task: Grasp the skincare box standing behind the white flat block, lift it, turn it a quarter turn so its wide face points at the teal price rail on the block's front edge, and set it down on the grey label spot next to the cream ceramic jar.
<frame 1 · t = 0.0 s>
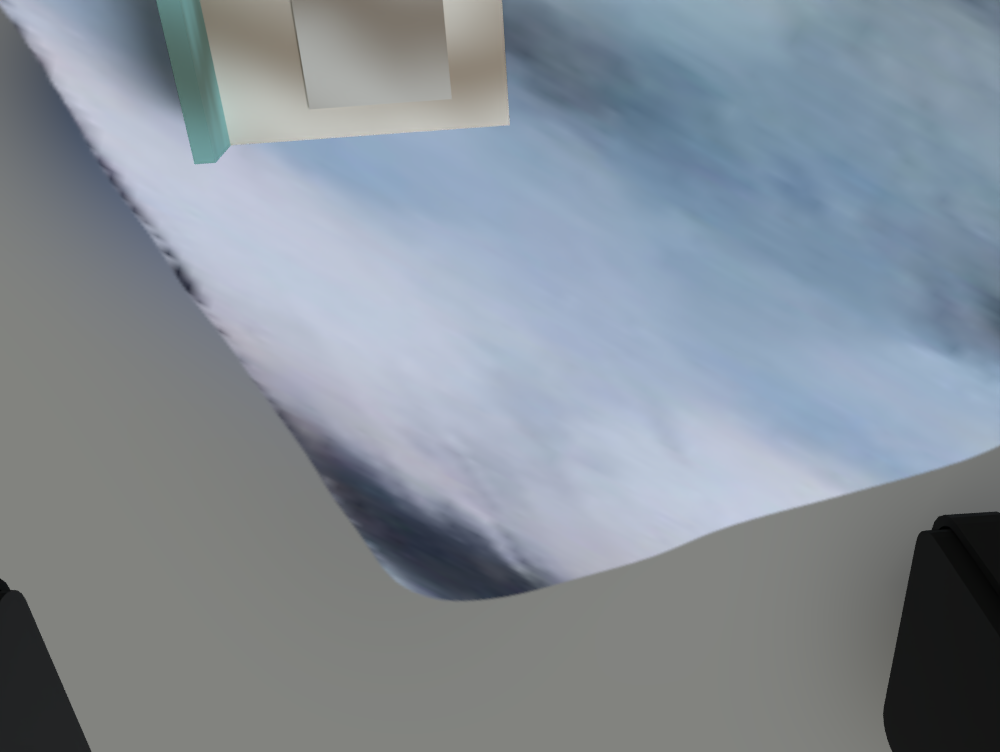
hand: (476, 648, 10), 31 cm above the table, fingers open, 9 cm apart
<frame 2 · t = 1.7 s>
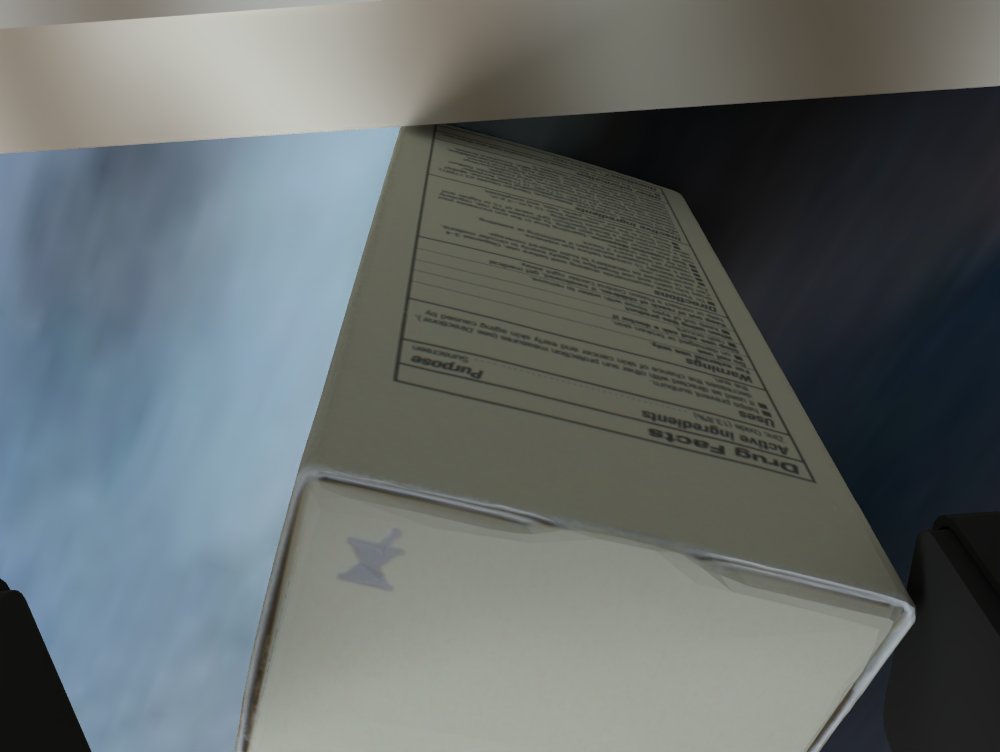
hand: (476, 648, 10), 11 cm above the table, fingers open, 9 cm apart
skincare box: (525, 242, 20), on the table
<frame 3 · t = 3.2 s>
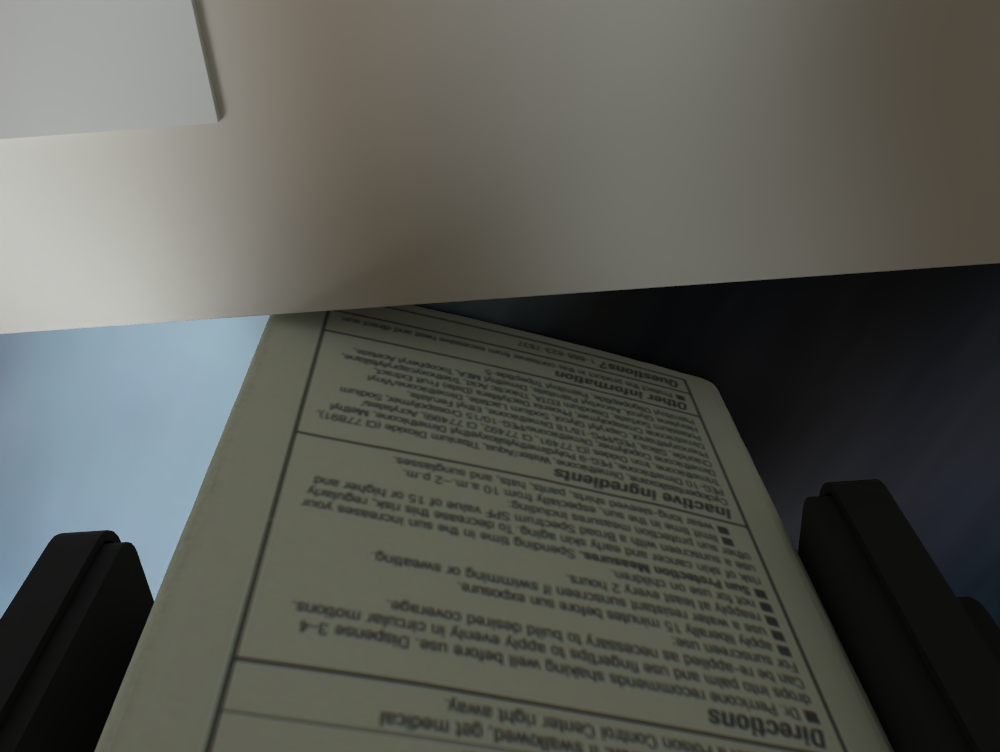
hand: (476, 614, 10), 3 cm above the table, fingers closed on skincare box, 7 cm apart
skincare box: (480, 446, 13), on the table, touching gripper
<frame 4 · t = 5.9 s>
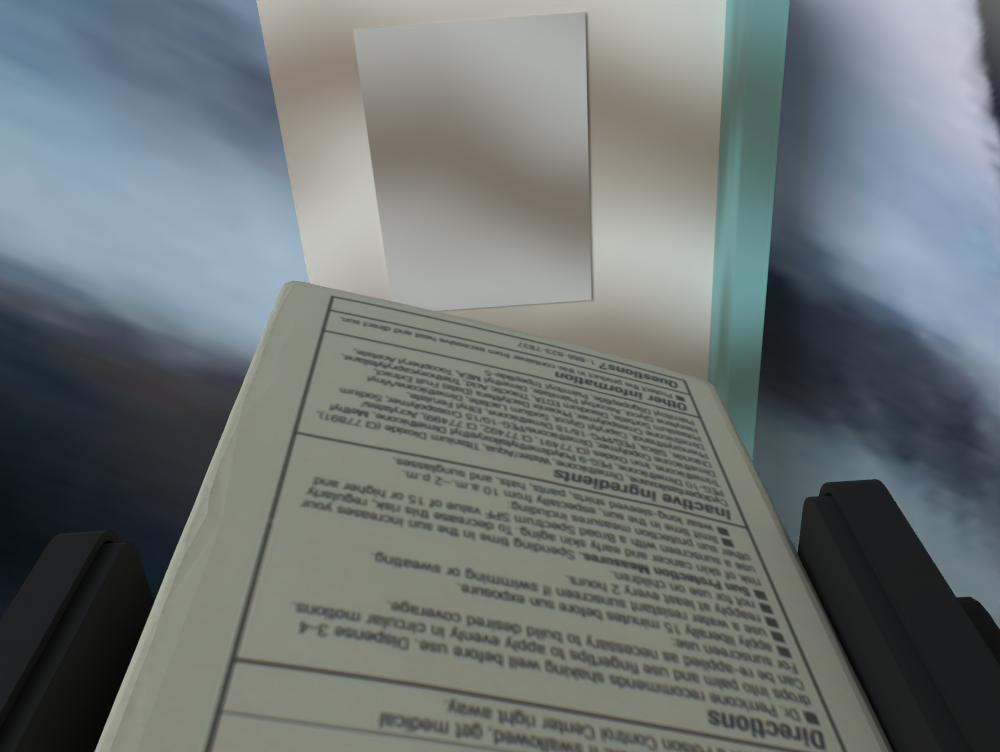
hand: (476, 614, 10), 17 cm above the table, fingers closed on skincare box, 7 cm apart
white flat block: (529, 347, 28), on the table
skincare box: (480, 447, 13), point 14 cm above the table, touching gripper
when the fingers open (6 cm above the table, at t = 8.9 s): skincare box stays where it is, resting on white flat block.
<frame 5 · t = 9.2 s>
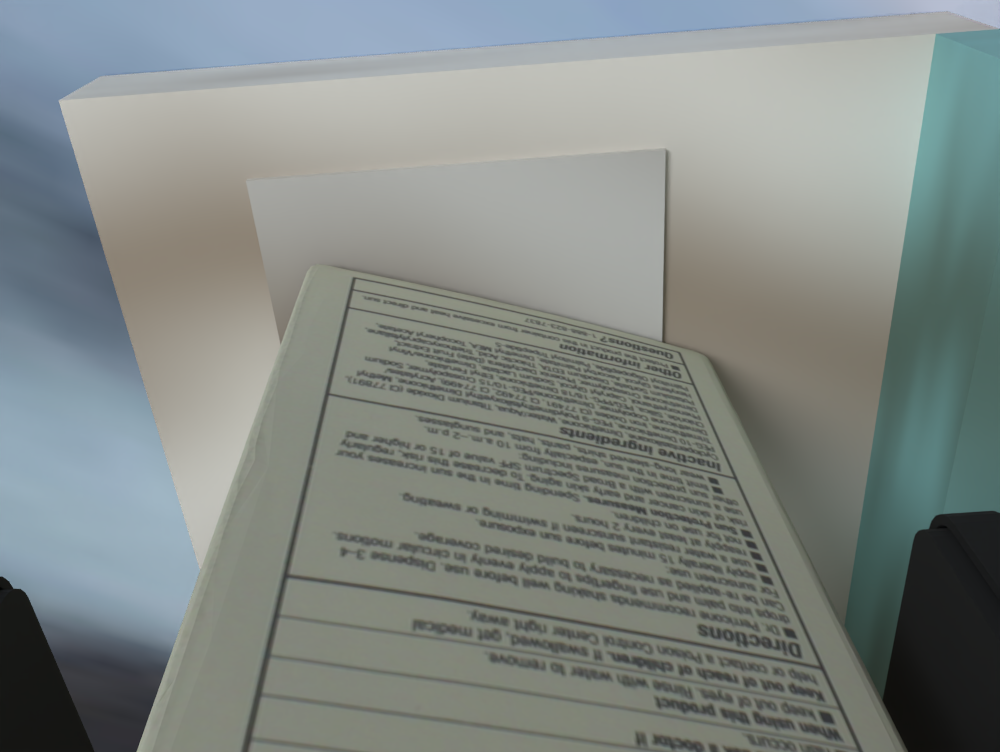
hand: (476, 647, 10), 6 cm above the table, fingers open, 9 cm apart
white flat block: (552, 618, 18), on the table
skincare box: (490, 419, 14), point 1 cm above the table, touching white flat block
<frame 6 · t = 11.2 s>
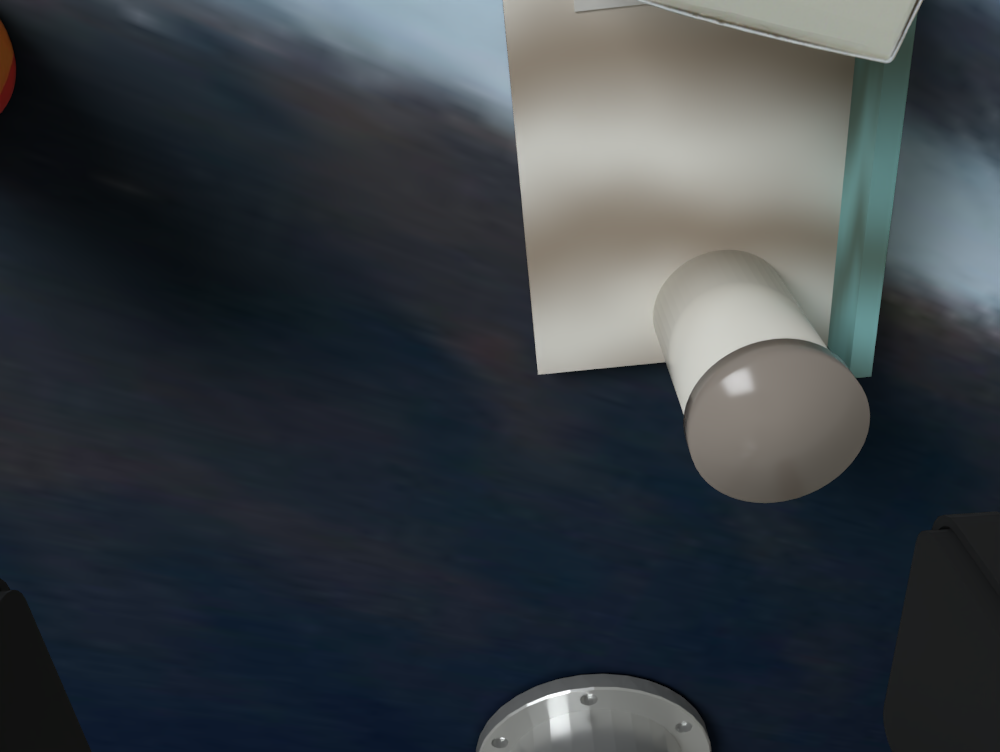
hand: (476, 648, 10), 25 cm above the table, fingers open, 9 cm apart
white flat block: (685, 59, 31), on the table
cream jar: (719, 311, 35), point 1 cm above the table, touching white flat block
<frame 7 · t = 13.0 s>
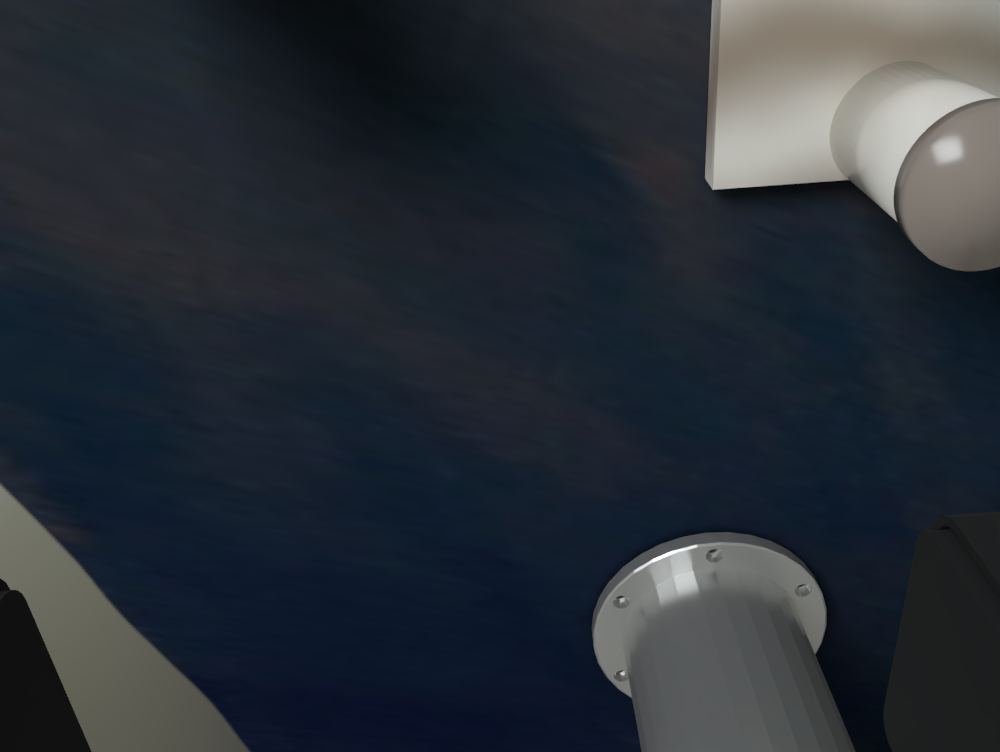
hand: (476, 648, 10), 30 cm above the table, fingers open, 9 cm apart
cream jar: (893, 127, 36), point 1 cm above the table, touching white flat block
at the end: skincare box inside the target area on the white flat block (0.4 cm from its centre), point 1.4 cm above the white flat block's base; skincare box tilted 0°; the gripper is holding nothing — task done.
